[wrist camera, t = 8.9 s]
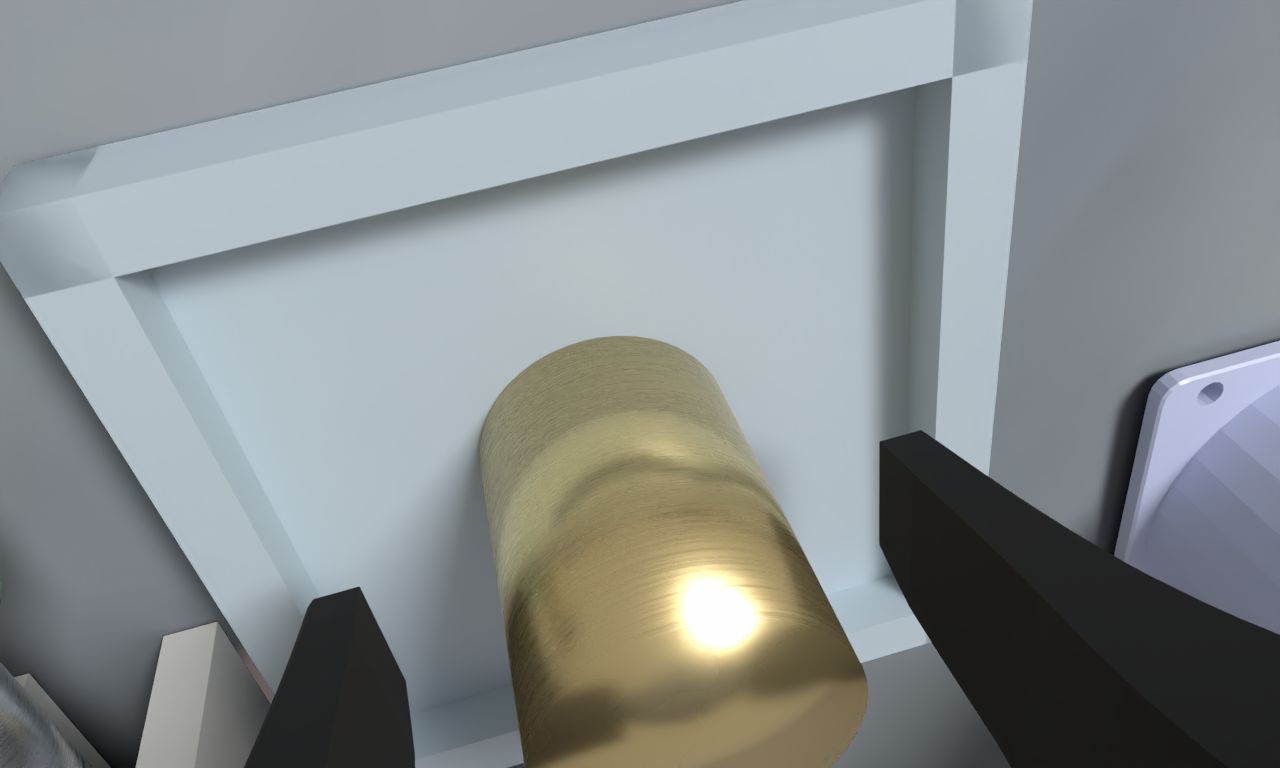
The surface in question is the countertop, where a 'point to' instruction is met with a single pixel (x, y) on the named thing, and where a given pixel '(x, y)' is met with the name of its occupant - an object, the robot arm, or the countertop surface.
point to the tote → (538, 301)
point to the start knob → (31, 731)
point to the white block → (186, 706)
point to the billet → (654, 574)
